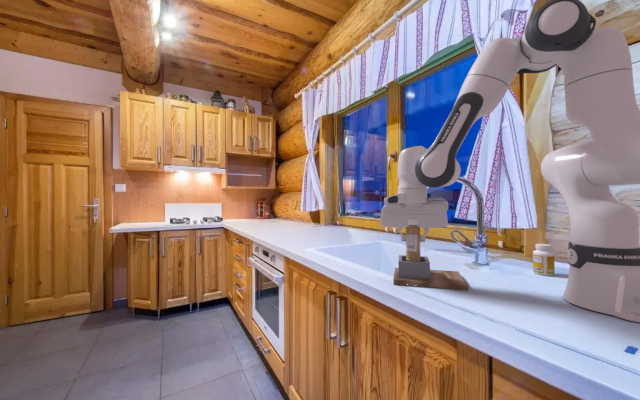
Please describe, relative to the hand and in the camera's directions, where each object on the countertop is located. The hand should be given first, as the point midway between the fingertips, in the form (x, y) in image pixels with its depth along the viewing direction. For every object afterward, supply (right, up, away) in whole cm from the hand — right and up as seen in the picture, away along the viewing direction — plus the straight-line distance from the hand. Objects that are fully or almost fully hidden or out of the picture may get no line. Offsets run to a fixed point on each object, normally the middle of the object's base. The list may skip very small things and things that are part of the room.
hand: (413, 241), depth 85 cm
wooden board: (+4, -12, -1) cm, 13 cm away
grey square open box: (0, -11, 0) cm, 11 cm away
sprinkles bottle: (0, -6, 0) cm, 6 cm away
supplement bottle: (+44, -11, +3) cm, 46 cm away
